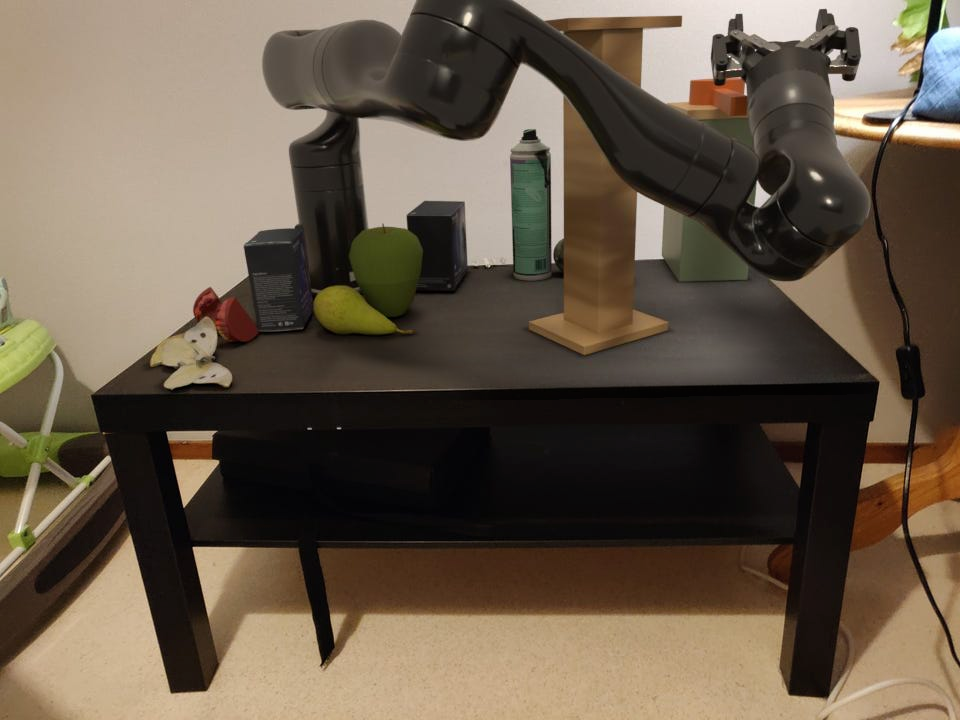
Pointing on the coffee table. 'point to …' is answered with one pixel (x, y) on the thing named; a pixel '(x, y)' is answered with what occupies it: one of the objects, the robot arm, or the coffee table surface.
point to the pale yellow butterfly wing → (158, 353)
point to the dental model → (225, 316)
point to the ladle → (720, 95)
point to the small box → (440, 243)
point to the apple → (387, 268)
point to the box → (279, 279)
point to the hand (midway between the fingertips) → (779, 19)
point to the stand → (600, 207)
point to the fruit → (350, 313)
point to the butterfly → (195, 357)
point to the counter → (688, 240)
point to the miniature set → (488, 262)
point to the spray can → (531, 208)
